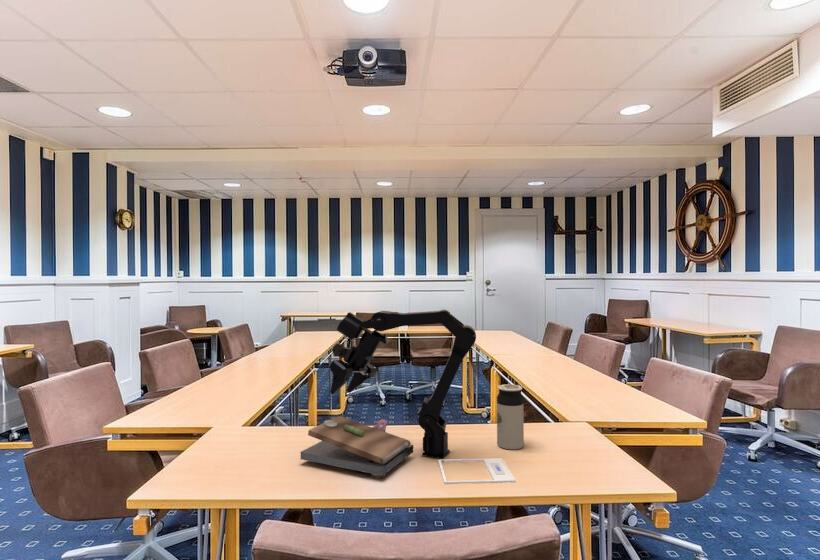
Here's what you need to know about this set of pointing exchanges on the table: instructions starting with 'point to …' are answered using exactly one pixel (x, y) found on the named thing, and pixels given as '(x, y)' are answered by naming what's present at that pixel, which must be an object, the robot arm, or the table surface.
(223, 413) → the table surface
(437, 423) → the robot arm
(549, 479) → the table surface
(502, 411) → the travel mug
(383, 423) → the purple lumpy shape
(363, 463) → the dark grey flat box
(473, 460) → the photo frame
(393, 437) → the plate
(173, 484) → the table surface
